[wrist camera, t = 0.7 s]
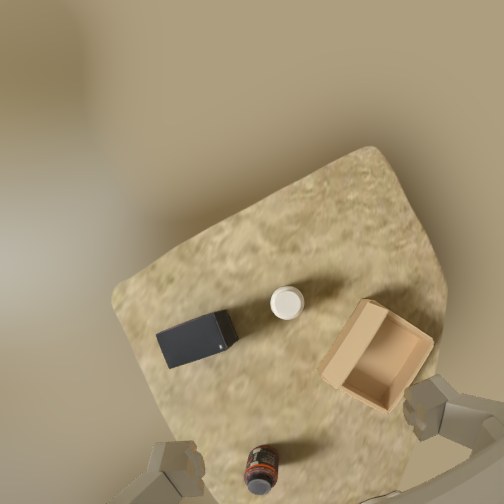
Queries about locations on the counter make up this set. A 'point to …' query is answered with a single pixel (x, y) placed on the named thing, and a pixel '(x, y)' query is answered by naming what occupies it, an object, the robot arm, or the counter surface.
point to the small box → (197, 338)
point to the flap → (354, 344)
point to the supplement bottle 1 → (261, 470)
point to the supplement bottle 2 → (287, 302)
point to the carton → (383, 360)
